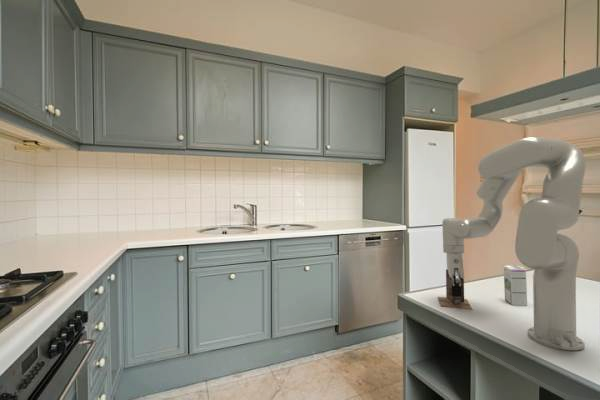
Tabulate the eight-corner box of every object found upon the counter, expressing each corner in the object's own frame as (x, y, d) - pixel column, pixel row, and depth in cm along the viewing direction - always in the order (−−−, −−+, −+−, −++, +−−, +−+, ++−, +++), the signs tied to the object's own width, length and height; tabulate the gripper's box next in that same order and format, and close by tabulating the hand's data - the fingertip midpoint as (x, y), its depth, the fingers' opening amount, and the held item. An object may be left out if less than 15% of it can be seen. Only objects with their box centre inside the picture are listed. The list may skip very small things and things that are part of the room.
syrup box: (528, 305, 113) (527, 268, 113) (510, 305, 114) (510, 268, 114) (520, 300, 118) (519, 265, 118) (503, 300, 119) (503, 264, 119)
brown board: (472, 309, 110) (472, 308, 110) (440, 306, 114) (440, 305, 114) (466, 299, 121) (466, 299, 121) (437, 297, 124) (437, 296, 124)
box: (465, 302, 114) (464, 272, 114) (454, 303, 114) (453, 272, 114) (456, 297, 120) (455, 268, 120) (445, 298, 120) (444, 269, 120)
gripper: (468, 252, 107) (470, 300, 107) (460, 245, 124) (461, 287, 124) (446, 252, 110) (447, 299, 110) (440, 245, 126) (442, 286, 126)
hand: (455, 292), depth 117 cm, fingers closed on box, 6 cm apart
